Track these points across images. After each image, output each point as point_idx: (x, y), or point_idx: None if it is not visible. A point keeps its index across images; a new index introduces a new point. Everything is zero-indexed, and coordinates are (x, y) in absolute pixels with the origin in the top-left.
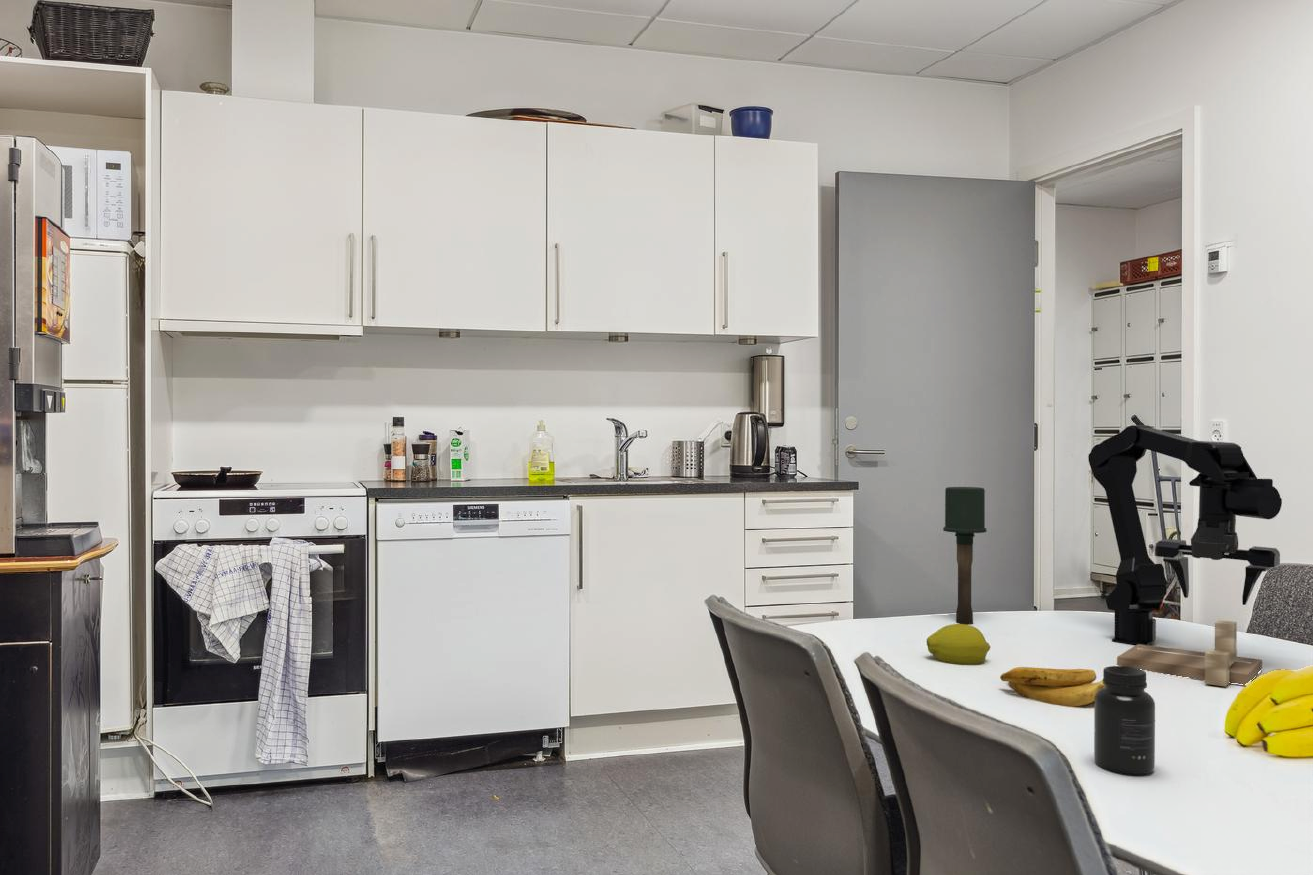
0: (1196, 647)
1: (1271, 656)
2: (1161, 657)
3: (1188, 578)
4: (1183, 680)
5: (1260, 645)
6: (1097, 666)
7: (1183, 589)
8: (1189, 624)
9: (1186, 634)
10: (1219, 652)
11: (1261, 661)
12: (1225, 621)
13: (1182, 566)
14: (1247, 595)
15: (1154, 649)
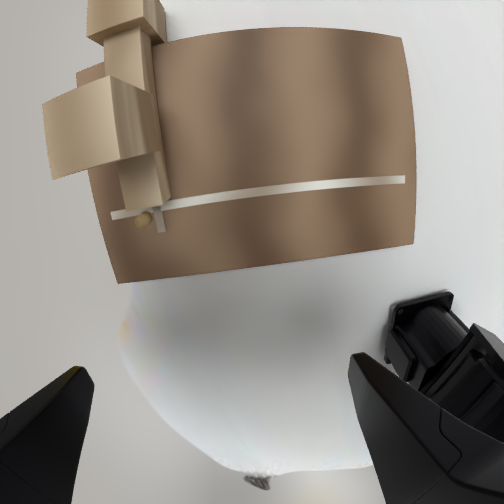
0: (312, 386)
1: (185, 401)
2: (321, 98)
3: (377, 468)
4: (221, 19)
5: (234, 445)
6: (419, 45)
7: (385, 376)
8: (344, 467)
9: (342, 437)
10: (109, 13)
11: (116, 273)
12: (84, 150)
13: (465, 497)
14: (42, 390)
15: (370, 203)
